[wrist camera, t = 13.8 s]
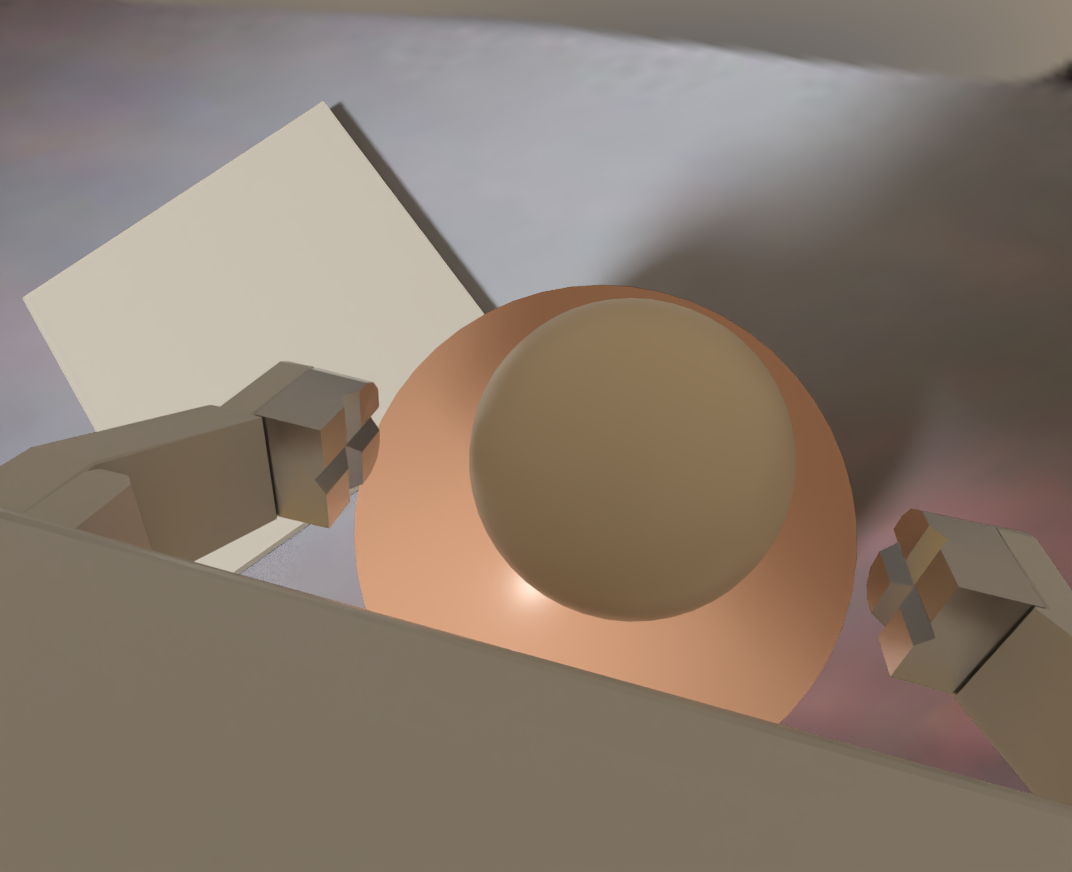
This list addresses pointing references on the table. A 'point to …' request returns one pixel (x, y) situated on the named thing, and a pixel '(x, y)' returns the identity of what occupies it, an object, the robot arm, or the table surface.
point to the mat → (254, 293)
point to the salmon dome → (616, 499)
